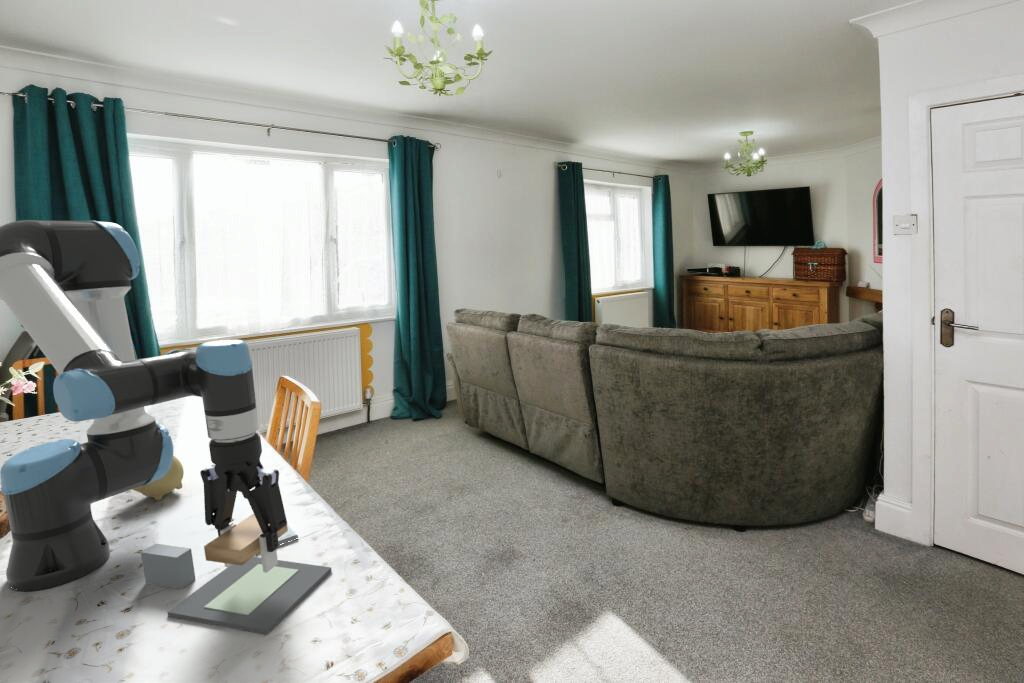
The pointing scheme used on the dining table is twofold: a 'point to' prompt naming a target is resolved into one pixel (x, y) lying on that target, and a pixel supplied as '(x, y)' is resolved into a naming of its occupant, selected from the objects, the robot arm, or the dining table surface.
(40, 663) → the dining table surface
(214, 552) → the card box
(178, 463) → the toy pig
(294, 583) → the mat
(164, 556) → the stand
